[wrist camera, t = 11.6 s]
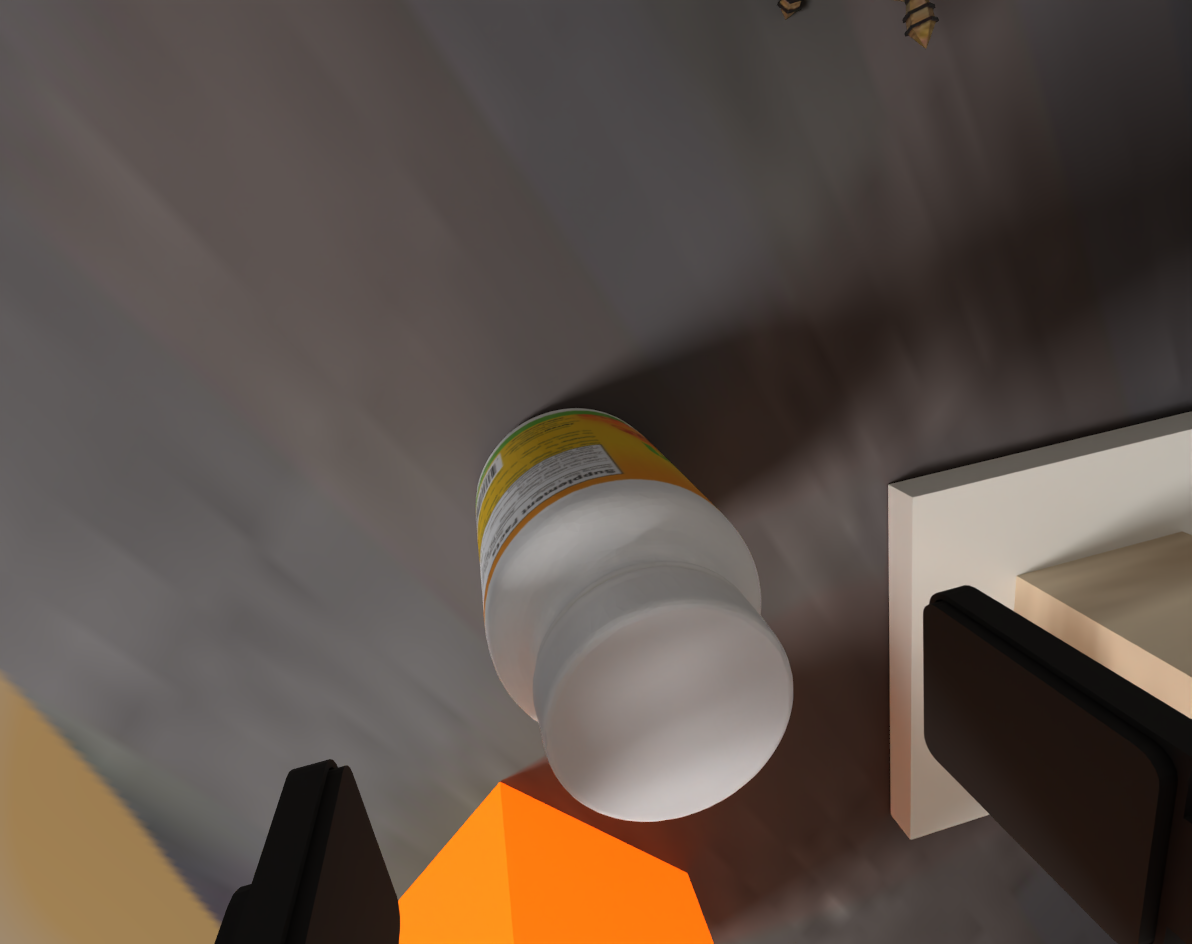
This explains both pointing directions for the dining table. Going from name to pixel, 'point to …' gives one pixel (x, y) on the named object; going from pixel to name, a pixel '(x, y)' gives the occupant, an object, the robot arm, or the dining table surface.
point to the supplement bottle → (626, 619)
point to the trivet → (1011, 560)
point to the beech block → (1123, 612)
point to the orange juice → (546, 885)
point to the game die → (916, 18)
